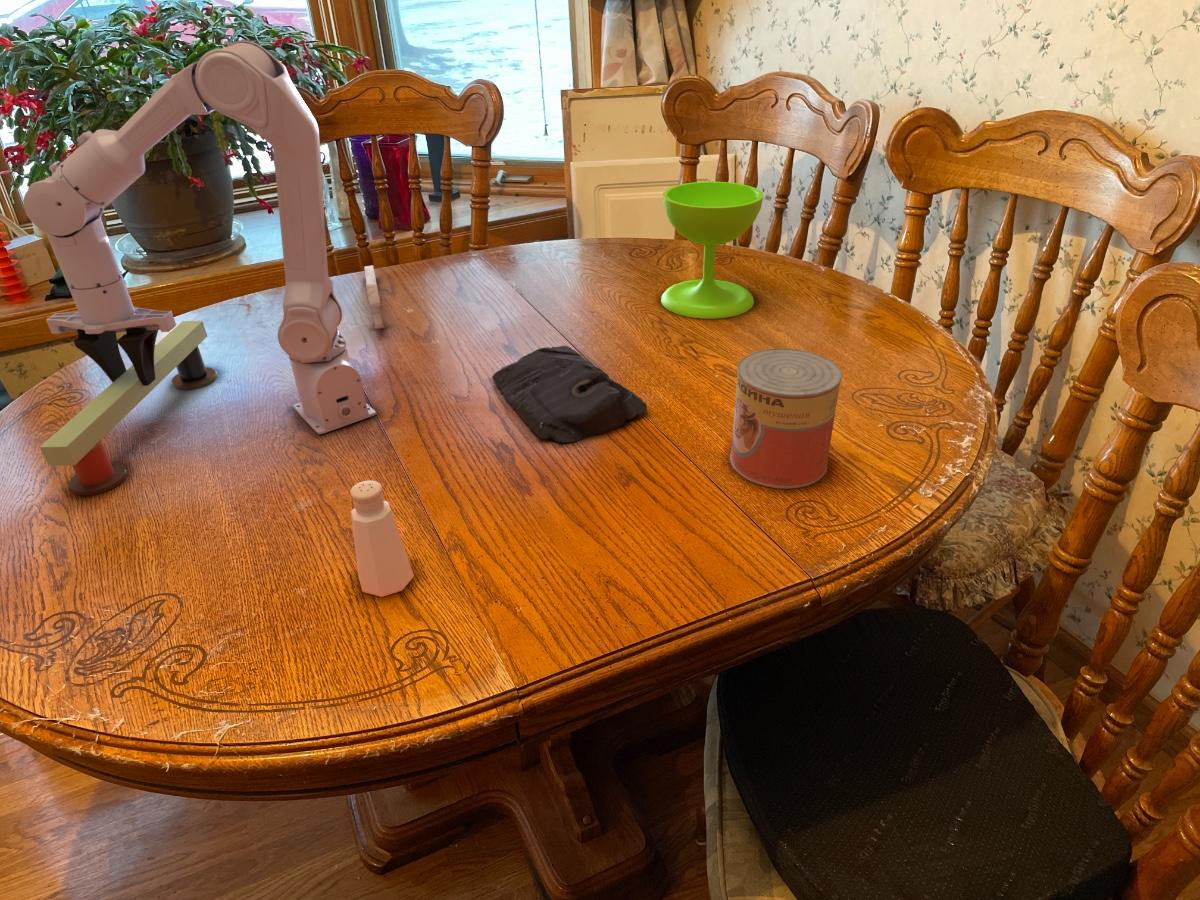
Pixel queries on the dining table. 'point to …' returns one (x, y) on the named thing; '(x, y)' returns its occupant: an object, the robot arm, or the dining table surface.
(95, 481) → the red top hat
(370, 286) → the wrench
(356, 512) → the pepper shaker
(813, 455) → the canned food
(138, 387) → the bar
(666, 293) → the wineglass
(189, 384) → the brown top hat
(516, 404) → the black fabric pouch
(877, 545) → the dining table surface
